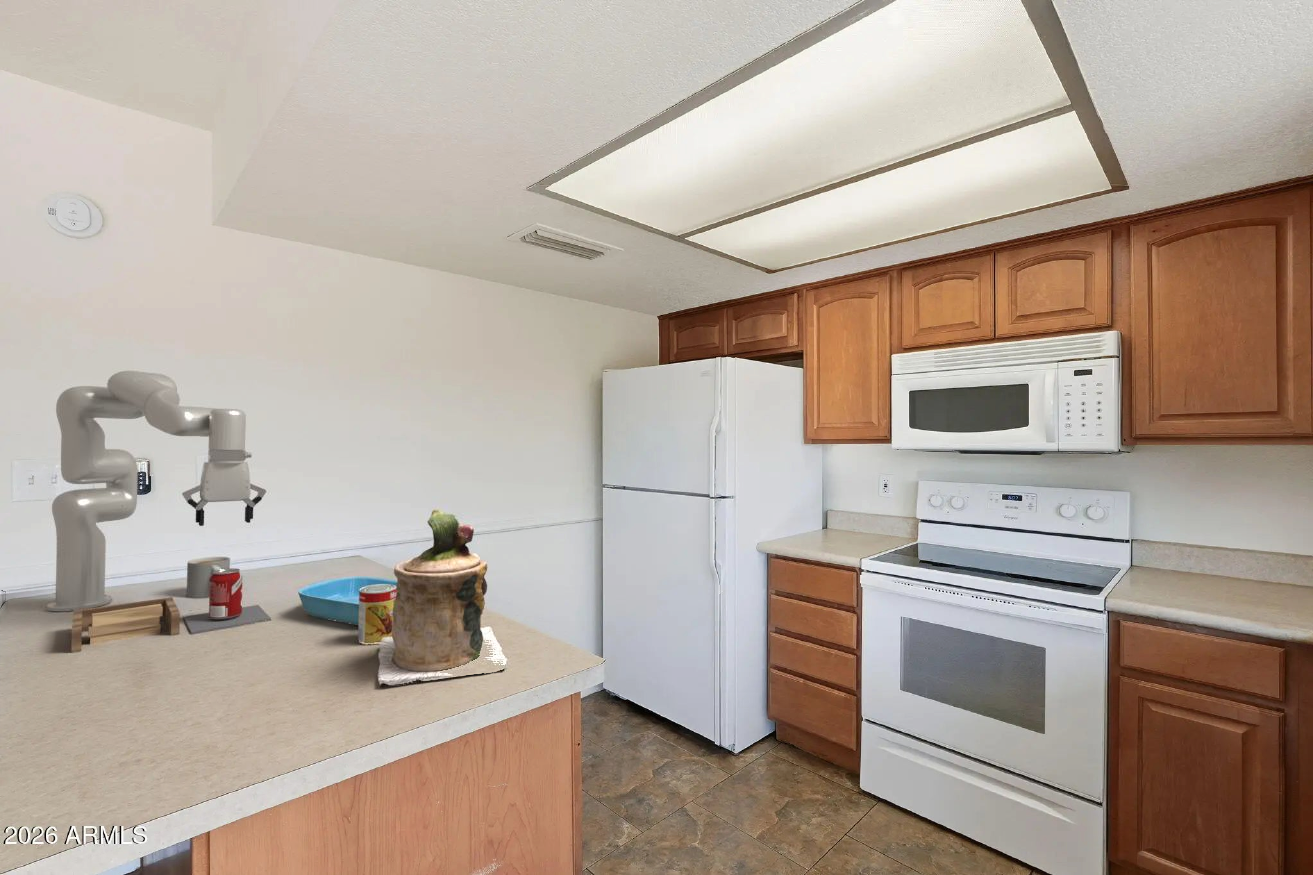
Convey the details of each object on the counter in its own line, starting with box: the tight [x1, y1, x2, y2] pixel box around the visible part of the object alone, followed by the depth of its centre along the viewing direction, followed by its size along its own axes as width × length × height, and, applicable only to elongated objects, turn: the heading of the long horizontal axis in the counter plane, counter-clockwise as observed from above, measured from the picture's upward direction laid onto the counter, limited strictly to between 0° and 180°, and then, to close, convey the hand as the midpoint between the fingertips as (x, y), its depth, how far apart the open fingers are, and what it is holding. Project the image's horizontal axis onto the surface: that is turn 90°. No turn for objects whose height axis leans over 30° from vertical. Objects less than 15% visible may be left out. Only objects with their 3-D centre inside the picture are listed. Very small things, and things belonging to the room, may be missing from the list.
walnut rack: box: [70, 596, 181, 653], centre depth 137 cm, size 18×18×5 cm
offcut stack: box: [87, 604, 163, 645], centre depth 135 cm, size 4×13×6 cm, turn 135°
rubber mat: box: [183, 604, 272, 635], centre depth 148 cm, size 16×16×1 cm
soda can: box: [208, 567, 244, 621], centre depth 148 cm, size 7×7×12 cm
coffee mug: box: [186, 556, 231, 599], centre depth 171 cm, size 13×10×10 cm
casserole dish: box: [297, 575, 397, 626], centre depth 155 cm, size 37×22×7 cm, turn 70°
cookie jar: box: [377, 508, 508, 686], centre depth 125 cm, size 25×25×32 cm
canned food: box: [357, 584, 396, 643], centre depth 136 cm, size 8×8×12 cm
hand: (224, 523), depth 149 cm, fingers open, 9 cm apart
